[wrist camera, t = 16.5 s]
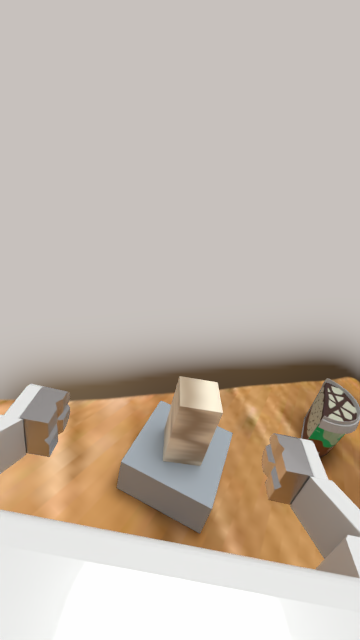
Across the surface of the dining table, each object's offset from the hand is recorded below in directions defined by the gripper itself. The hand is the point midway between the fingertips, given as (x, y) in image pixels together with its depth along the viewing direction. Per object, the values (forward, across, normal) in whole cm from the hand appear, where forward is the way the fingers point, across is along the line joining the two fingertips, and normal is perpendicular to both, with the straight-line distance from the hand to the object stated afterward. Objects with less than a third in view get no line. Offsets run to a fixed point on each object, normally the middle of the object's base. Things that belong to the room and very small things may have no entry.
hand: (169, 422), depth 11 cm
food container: (+30, -30, +31) cm, 52 cm away
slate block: (+18, -4, +31) cm, 36 cm away
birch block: (+18, -4, +25) cm, 31 cm away
